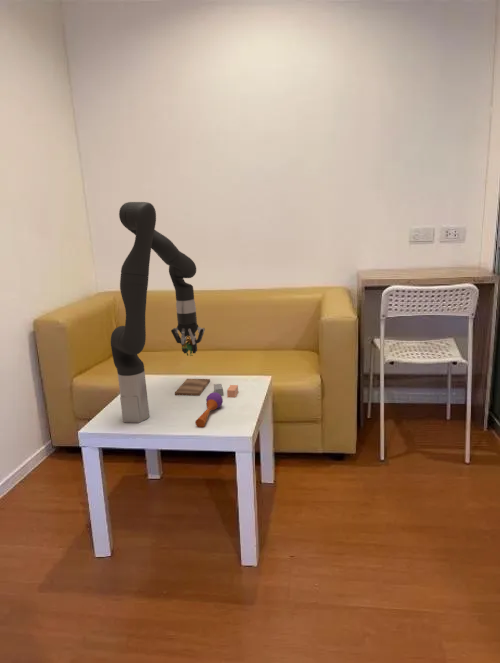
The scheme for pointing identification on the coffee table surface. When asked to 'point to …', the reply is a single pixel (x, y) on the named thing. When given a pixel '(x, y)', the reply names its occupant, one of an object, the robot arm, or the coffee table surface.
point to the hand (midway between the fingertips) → (190, 352)
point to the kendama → (209, 407)
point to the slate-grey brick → (218, 389)
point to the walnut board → (192, 387)
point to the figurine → (188, 346)
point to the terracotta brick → (232, 391)
